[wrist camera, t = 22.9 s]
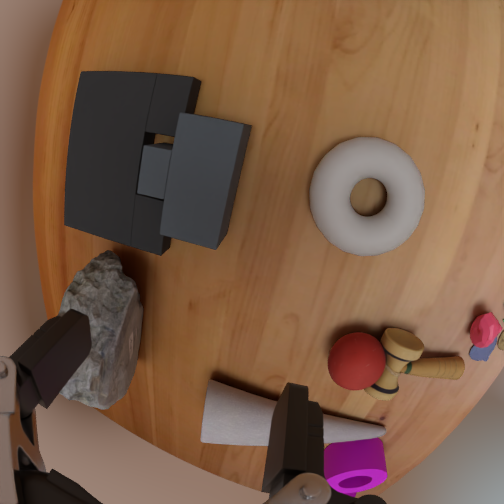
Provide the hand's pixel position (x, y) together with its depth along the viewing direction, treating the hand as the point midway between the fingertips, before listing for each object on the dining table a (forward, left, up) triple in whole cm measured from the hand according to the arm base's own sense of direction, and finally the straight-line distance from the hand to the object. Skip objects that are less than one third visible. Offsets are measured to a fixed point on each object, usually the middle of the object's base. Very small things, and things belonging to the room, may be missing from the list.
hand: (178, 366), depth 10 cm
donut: (-5, +9, -18) cm, 21 cm away
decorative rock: (+14, -11, -18) cm, 25 cm away
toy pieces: (+4, +33, -18) cm, 38 cm away
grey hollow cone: (+22, +13, -18) cm, 31 cm away
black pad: (-3, -13, -18) cm, 23 cm away
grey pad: (-3, -6, -18) cm, 19 cm away
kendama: (+10, +20, -18) cm, 29 cm away
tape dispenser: (+35, +25, -18) cm, 46 cm away
